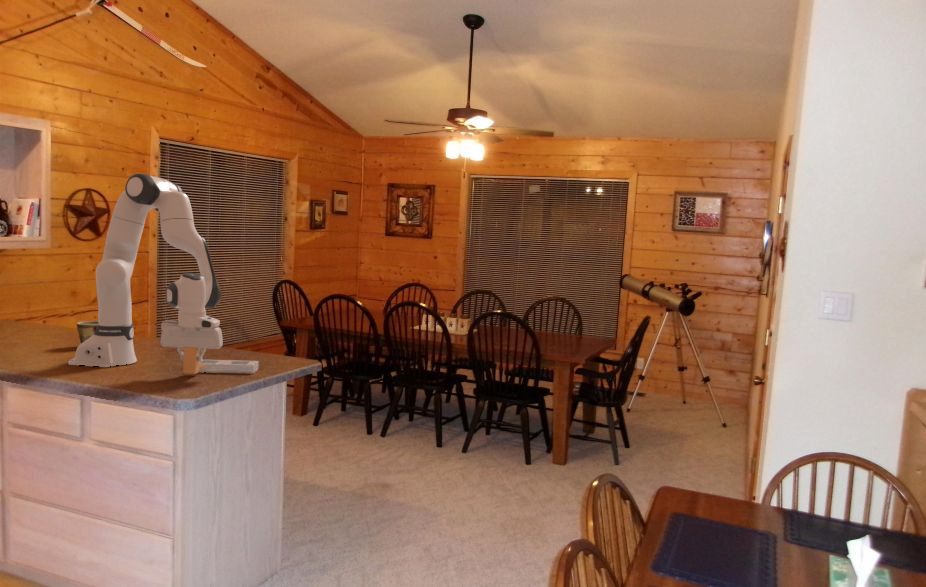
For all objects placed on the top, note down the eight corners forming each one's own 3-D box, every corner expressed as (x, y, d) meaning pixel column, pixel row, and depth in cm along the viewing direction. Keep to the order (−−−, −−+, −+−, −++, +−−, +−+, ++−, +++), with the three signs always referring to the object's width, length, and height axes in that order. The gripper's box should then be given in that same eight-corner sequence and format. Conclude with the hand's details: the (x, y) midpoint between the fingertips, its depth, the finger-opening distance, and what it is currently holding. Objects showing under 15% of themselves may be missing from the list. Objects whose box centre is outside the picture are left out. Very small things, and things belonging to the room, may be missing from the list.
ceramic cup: (100, 349, 286) (99, 324, 285) (73, 349, 285) (72, 324, 284) (110, 343, 299) (110, 320, 298) (85, 343, 298) (84, 319, 297)
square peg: (183, 373, 245) (183, 347, 244) (187, 371, 249) (187, 345, 248) (195, 374, 245) (195, 348, 244) (199, 371, 249) (199, 346, 248)
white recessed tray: (189, 372, 252) (189, 363, 252) (197, 367, 260) (197, 359, 260) (253, 373, 253) (253, 365, 253) (258, 369, 261) (258, 360, 261)
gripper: (157, 320, 241) (157, 361, 243) (218, 323, 242) (218, 363, 243) (164, 318, 248) (164, 357, 249) (224, 320, 248) (223, 360, 250)
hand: (191, 360), depth 246 cm, fingers closed on square peg, 4 cm apart
